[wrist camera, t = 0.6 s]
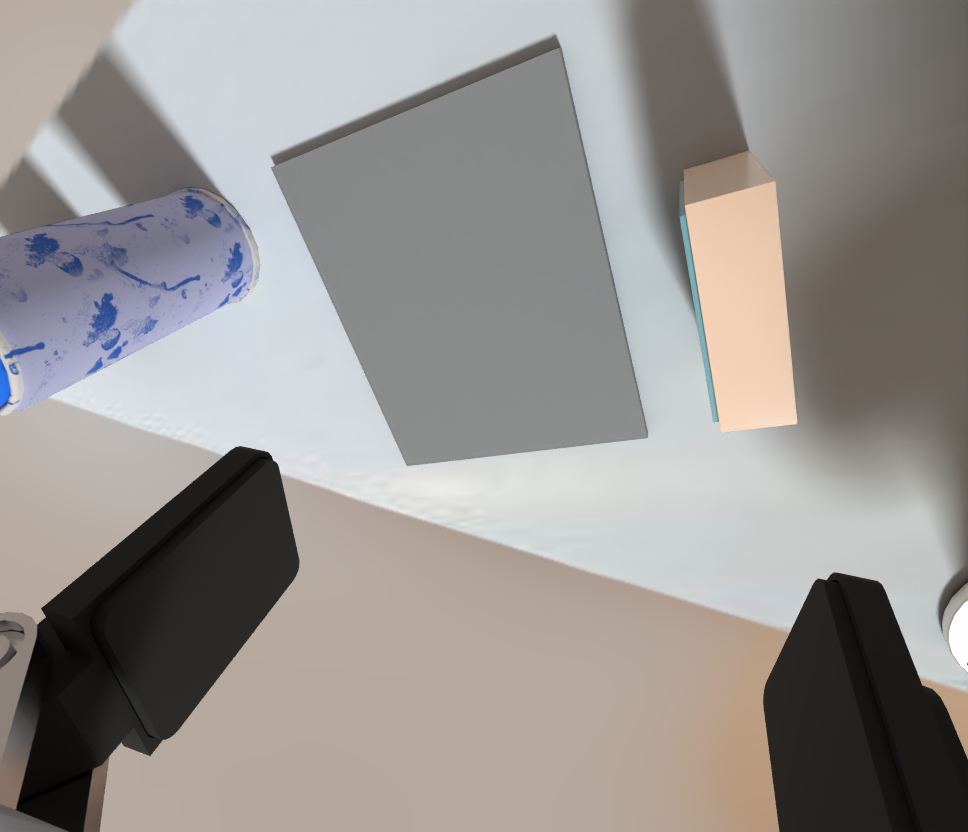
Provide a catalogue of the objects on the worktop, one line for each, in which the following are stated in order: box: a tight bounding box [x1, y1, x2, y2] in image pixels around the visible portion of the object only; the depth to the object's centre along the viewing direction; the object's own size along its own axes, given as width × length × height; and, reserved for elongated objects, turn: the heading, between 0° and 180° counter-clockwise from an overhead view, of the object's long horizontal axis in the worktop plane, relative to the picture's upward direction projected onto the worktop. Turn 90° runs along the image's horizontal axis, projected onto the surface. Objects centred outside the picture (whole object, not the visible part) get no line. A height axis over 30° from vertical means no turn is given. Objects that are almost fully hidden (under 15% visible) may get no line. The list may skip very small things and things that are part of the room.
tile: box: [679, 151, 797, 433], centre depth 26 cm, size 10×3×9 cm, turn 19°
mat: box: [271, 48, 648, 466], centre depth 35 cm, size 22×18×1 cm
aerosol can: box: [0, 187, 260, 416], centre depth 30 cm, size 8×8×20 cm
